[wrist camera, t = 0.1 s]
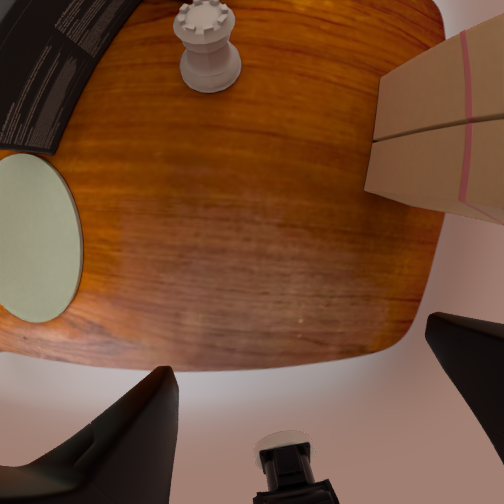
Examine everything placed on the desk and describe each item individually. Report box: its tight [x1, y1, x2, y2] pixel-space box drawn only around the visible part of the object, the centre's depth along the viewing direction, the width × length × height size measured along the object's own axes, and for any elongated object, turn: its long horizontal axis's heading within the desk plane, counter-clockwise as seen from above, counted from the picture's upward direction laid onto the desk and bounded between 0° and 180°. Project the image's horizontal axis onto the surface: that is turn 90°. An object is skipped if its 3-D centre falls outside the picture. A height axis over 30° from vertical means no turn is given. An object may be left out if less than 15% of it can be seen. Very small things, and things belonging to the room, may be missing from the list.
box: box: [0, 0, 141, 155], centre depth 10 cm, size 17×7×12 cm, turn 154°
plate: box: [0, 153, 83, 323], centre depth 19 cm, size 16×16×1 cm
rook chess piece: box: [173, 0, 241, 93], centre depth 13 cm, size 4×4×8 cm
